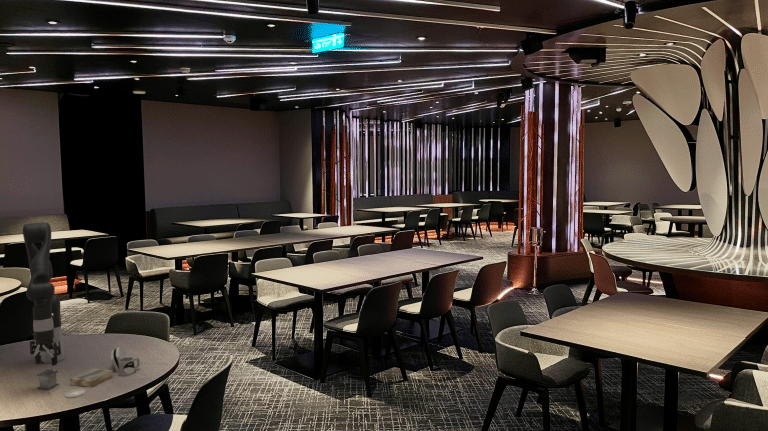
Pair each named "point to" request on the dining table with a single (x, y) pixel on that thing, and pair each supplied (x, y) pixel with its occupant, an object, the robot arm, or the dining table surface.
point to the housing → (47, 379)
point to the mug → (127, 366)
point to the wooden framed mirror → (91, 377)
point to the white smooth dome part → (75, 393)
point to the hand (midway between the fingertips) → (46, 364)
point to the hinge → (117, 356)
